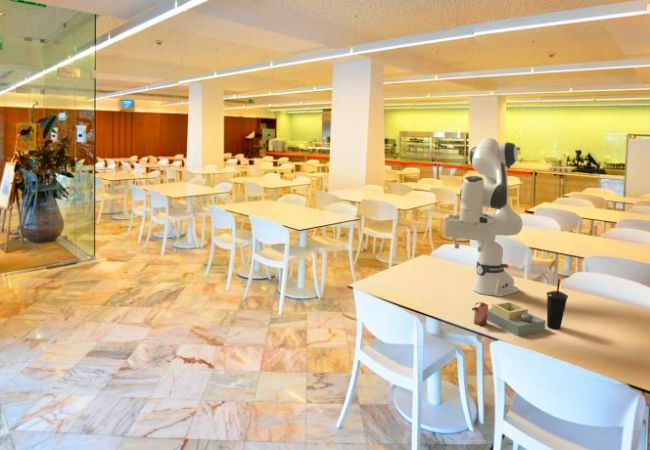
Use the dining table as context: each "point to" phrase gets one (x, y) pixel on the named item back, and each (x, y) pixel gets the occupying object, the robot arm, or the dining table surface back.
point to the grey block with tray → (515, 318)
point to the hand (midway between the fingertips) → (468, 249)
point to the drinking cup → (555, 307)
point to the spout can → (480, 314)
